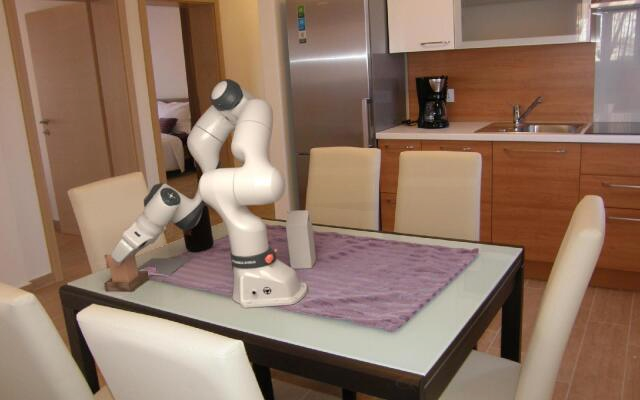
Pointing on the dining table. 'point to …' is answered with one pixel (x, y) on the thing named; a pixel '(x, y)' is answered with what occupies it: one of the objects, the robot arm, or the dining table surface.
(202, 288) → the dining table surface
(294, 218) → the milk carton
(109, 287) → the tray
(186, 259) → the mat
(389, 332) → the dining table surface
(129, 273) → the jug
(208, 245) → the coffee jar
